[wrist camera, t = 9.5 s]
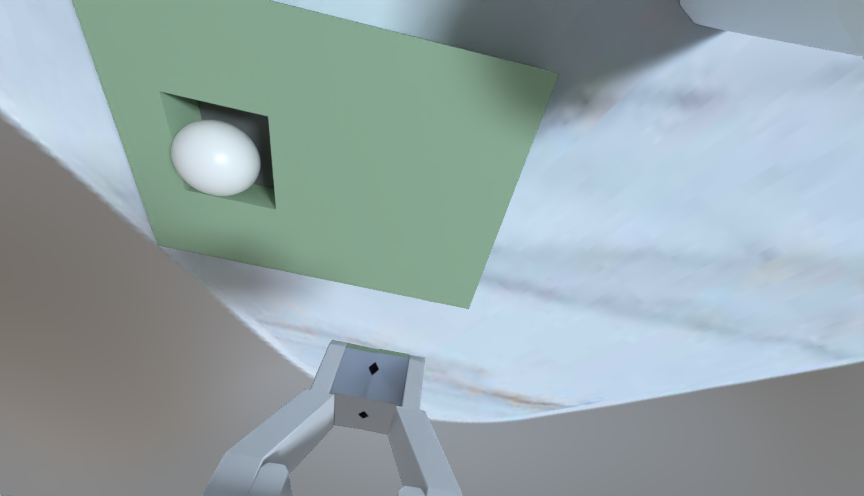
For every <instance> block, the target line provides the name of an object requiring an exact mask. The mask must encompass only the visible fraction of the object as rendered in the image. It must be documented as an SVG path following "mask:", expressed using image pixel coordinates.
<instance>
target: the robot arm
mask: <svg viewBox="0 0 864 496" xmlns="http://www.w3.org/2000/svg"><path fill="white" fill-rule="evenodd" d="M424 371H425V357H419V356H413V355H409V354H405V353H399V352H393V351H388V350H382V349H375V348H370V347H365V346H360V345H355V344H350V343H346V342H341V341H336V340H332V341H331V342H330V344H329V346H328V348H327V350H326V353H325V355H324V358H323V360H322V362H321V365H320V367H319V369H318V372H317V374H316V377H315V379H314V381H313V384H312V386H311V389H304V390H303V391H302V392H301V393H299V394H298V395H297V396H296V397H294V398H293V399H292V400H291V401H289V402H288V403H287V404H286V405H284V406H283V407H282V408H281V409H279V410H278V411H277V412H276V413H274V414H273V415H272V416H271V417H269V418H268V419H267V420H266V421H264V422H263V423H262V424H261V425H260V426H258V427H257V428H256V429H254V430H253V431H252V432H251V433H249V434H248V435H247V436H246V437H245V438H243V439H242V440H241V441H240V442H238V443H237V444H236V445H235V446H233V447H232V448H231V449H230V450H228V451H227V452H226V453H225V454H224V456H223V458H222V460H221V462H220V463H219V465H218V467H217V469H216V471H215V472H214V474H213V476H212V478H211V480H210V481H209V483H208V485H207V486H206V488H205V490H204V492H203V494H202V495H201V496H292V490H291V485H290V479H289V474H290V473H291V472H292V471H293V470H294V469H295V468H296V467H297V466H298V465H299V464H300V462H301V461H302V460H303V459H304V458H305V457H306V456H307V455H308V454H309V453H310V451H312V449H313V448H314V447H315V446H316V445H317V444H318V443H319V442H320V441H321V440H322V439H323V438H324V437H325V435H326V434H327V433H328V432H329V431H330V430H331V429H332V428H333V425H337V426H343V427H350V428H357V429H363V430H368V431H373V432H378V433H382V434H387V435H388V437H389V441H390V444H391V448H392V451H393V455H394V458H395V461H396V465H397V468H398V471H399V475H400V478H401V482H402V485H403V488H402V489H401V490H400V491H399V492H398V495H397V496H462V492H461V490H460V488H459V486H458V484H457V482H456V479H455V477H454V475H453V472H452V470H451V468H450V466H449V463H448V461H447V459H446V457H445V455H444V452H443V450H442V448H441V446H440V443H439V441H438V439H437V437H436V434H435V432H434V430H433V428H432V426H431V423H430V421H429V419H428V417H427V414H426V412H425V411H423V410H420V408H421V398H422V389H423V380H424ZM0 496H10V495H3V494H0Z"/></svg>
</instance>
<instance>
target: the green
mask: <svg viewBox="0 0 864 496" xmlns="http://www.w3.org/2000/svg"><path fill="white" fill-rule="evenodd" d="M72 2H73V5H74V8H75V11H76V14H77V17H78V19H79V22H80V25H81V28H82V31H83V34H84V36H85V39H86V42H87V45H88V48H89V51H90V54H91V56H92V59H93V62H94V65H95V68H96V71H97V74H98V76H99V79H100V82H101V85H102V88H103V91H104V93H105V96H106V99H107V102H108V105H109V108H110V111H111V113H112V116H113V119H114V122H115V125H116V128H117V130H118V133H119V136H120V139H121V142H122V145H123V148H124V150H125V153H126V156H127V159H128V162H129V165H130V168H131V170H132V173H133V176H134V179H135V182H136V185H137V187H138V190H139V193H140V196H141V199H142V202H143V205H144V207H145V210H146V213H147V216H148V219H149V222H150V224H151V227H152V230H153V233H154V236H155V239H156V242H157V244H158V245H159V246H164V247H169V248H174V249H179V250H184V251H189V252H193V253H198V254H203V255H208V256H213V257H218V258H223V259H228V260H232V261H237V262H242V263H247V264H252V265H257V266H262V267H266V268H271V269H276V270H281V271H286V272H291V273H296V274H301V275H305V276H310V277H315V278H320V279H325V280H330V281H335V282H340V283H344V284H349V285H354V286H359V287H364V288H369V289H374V290H379V291H383V292H388V293H393V294H398V295H403V296H408V297H413V298H418V299H422V300H427V301H432V302H437V303H442V304H447V305H452V306H456V307H461V308H466V309H469V307H470V304H471V302H472V299H473V296H474V294H475V291H476V289H477V286H478V283H479V281H480V278H481V275H482V273H483V270H484V268H485V265H486V262H487V260H488V257H489V255H490V252H491V249H492V247H493V244H494V242H495V239H496V236H497V234H498V231H499V229H500V226H501V223H502V221H503V218H504V216H505V213H506V210H507V208H508V205H509V203H510V200H511V197H512V195H513V192H514V190H515V187H516V184H517V182H518V179H519V177H520V174H521V171H522V169H523V166H524V164H525V161H526V158H527V156H528V153H529V151H530V148H531V145H532V143H533V140H534V138H535V135H536V132H537V130H538V127H539V125H540V122H541V119H542V117H543V114H544V112H545V109H546V106H547V104H548V101H549V99H550V96H551V93H552V91H553V88H554V86H555V83H556V80H557V78H558V75H559V74H558V73H555V72H552V71H549V70H545V69H542V68H538V67H534V66H530V65H526V64H522V63H518V62H514V61H510V60H506V59H502V58H498V57H494V56H490V55H486V54H482V53H478V52H474V51H470V50H466V49H462V48H458V47H454V46H450V45H446V44H442V43H438V42H434V41H430V40H426V39H422V38H418V37H414V36H410V35H406V34H402V33H398V32H394V31H390V30H386V29H382V28H378V27H374V26H370V25H366V24H362V23H358V22H354V21H350V20H347V19H343V18H339V17H335V16H331V15H327V14H323V13H319V12H315V11H311V10H307V9H303V8H299V7H295V6H291V5H287V4H283V3H279V2H275V1H271V0H72ZM199 120H218V121H223V122H226V123H229V124H231V125H233V126H235V127H237V128H239V129H240V130H242V131H243V132H244V133H245V134H246V135H247V136H248V137H249V138H250V139H251V140H252V141H253V143H254V144H255V146H256V148H257V150H258V153H259V156H260V171H259V174H258V177H257V179H256V180H255V182H254V183H253V184H252V185H251V186H250V187H249V188H248V189H246V190H245V191H243V192H241V193H238V194H235V195H230V196H215V195H210V194H207V193H203V192H201V191H199V190H197V189H195V188H193V187H192V186H190V185H189V184H188V183H187V182H185V181H184V180H183V179H182V178H181V176H180V175H179V174H178V172H177V171H176V169H175V167H174V165H173V162H172V158H171V146H172V143H173V140H174V138H175V136H176V134H177V133H178V132H179V131H180V130H181V129H182V128H183V127H185V126H186V125H188V124H190V123H192V122H196V121H199Z"/></svg>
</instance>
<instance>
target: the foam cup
mask: <svg viewBox="0 0 864 496" xmlns="http://www.w3.org/2000/svg"><path fill="white" fill-rule="evenodd" d="M680 6H681V7H682V8H683V9H684V11H685V12H686V13H687V14H688V16H689V17H690V18H691V19H692V21H693V22H694V23H695V24H699V25H703V26H708V27H712V28H716V29H721V30H725V31H730V32H736V33H741V34H746V35H751V36H757V37H762V38H767V39H773V40H778V41H783V42H788V43H794V44H799V45H804V46H809V47H815V48H820V49H825V50H831V51H836V52H841V53H846V54H852V55H857V56H862V57H863V59H864V0H680Z"/></svg>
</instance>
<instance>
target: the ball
mask: <svg viewBox="0 0 864 496" xmlns="http://www.w3.org/2000/svg"><path fill="white" fill-rule="evenodd" d="M171 158H172V162H173V165H174V167H175V169H176V171H177V172H178V174H179V175H180V176H181V178H182V179H183V180H184V181H185V182H187V183H188V184H189V185H190V186H192V187H193V188H195V189H197V190H199V191H201V192H203V193H207V194H210V195H215V196H230V195H235V194H238V193H241V192H243V191H245V190H246V189H248V188H249V187H250V186H251V185H252V184H253V183H254V182H255V180H256V179H257V177H258V174H259V171H260V156H259V153H258V150H257V148H256V146H255V144H254V143H253V141H252V140H251V139H250V138H249V137H248V136H247V135H246V134H245V133H244V132H243V131H242V130H240V129H239V128H237V127H235V126H233V125H231V124H229V123H226V122H223V121H218V120H199V121H196V122H192V123H190V124H188V125H186V126H185V127H183V128H182V129H181V130H180V131H179V132H178V133H177V134H176V136H175V138H174V140H173V143H172V146H171Z"/></svg>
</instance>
